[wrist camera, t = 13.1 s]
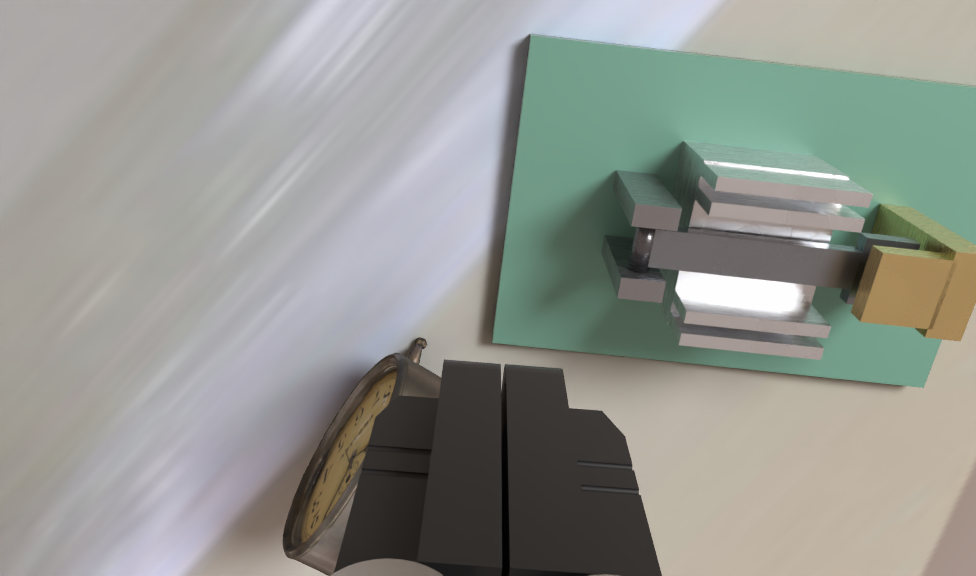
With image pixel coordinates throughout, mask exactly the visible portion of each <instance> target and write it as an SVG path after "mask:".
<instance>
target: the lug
mask: <svg viewBox="0 0 976 576" xmlns="http://www.w3.org/2000/svg"><path fill="white" fill-rule="evenodd" d="M871 234H880V235H888V236H897V237H906V238H913V239H914V240H916V241H917V242H918V243H920V244H921V245H920V248H919V250H913V249H904V248H895V247H886V246H876V245H872V248H871V251H870V254H869V257H868V260H867V263H866V266H865V269H864V273H863V276H862V279H861V282H860V285H859V288H858V291H857V294H856V297H855V300H854V303H853V306H852V309H851V313H852V314H853V315H854V316H855V317H856V318H857V319H858V320H859V321H860V322H865V323H874V324H883V325H893V326H902V327H912V328H915V329H916V330H917V331H918V332H919V333H920V334H921V335H923V336H924V337H925V338H935V339H944V340H954V341H961V339H962V336H963V334H964V331H965V329H966V326H967V323H968V321H969V318H970V316H971V313H972V311H973V308H974V306H975V303H976V245H974V244H973V243H971V242H969V241H968V240H966V239H964V238H963V237H961V236H959V235H958V234H956V233H954V232H952V231H951V230H949V229H947V228H946V227H944V226H942V225H941V224H939V223H937V222H936V221H934V220H932V219H930V218H929V217H927V216H925V215H924V214H922V213H920V212H919V211H917V210H915V209H914V208H912V207H905V206H896V205H887V204H880V206H879V209H878V212H877V215H876V218H875V221H874V224H873V227H872V230H871Z"/></svg>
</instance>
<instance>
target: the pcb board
mask: <svg viewBox="0 0 976 576" xmlns="http://www.w3.org/2000/svg"><path fill="white" fill-rule="evenodd" d="M684 141H691V142H700V143H709V144H717V145H726V146H735V147H744V148H753V149H761V150H770V151H779V152H788V153H797V154H805V155H814V156H816V157H818V158H820V159H821V160H823V161H825V162H826V163H828V164H830V165H831V166H833V167H835V168H836V169H838V170H839V171H841V172H843V173H844V174H846V175H848V176H849V179H850V180H852V181H853V182H855V183H856V184H858V185H860V186H861V187H863V188H865V189H866V190H868V191H869V192H871V193H873V196H872V199H871V202H870V206H869V208H867V207H858V206H849V205H846V206H847V207H848V208H850V209H851V210H853V211H854V212H856V213H857V214H859V215H860V216H861V217H863V218H864V219H865V221H864V225H863V228H862V231H861V232H862V233H871V230H872V227H873V224H874V221H875V218H876V215H877V212H878V209H879V206H880V204H887V205H896V206H905V207H912V208H914V209H915V210H917V211H919V212H920V213H922V214H924V215H925V216H927V217H929V218H930V219H932V220H934V221H936V222H937V223H939V224H941V225H942V226H944V227H946V228H947V229H949V230H951V231H952V232H954V233H956V234H958V235H959V236H961V237H963V238H964V239H966V240H968V241H969V242H971V243H973V244H974V245H976V86H971V85H962V84H954V83H945V82H937V81H928V80H920V79H911V78H903V77H894V76H886V75H877V74H868V73H860V72H851V71H843V70H834V69H826V68H817V67H809V66H800V65H792V64H783V63H775V62H766V61H758V60H749V59H741V58H732V57H724V56H715V55H707V54H698V53H690V52H681V51H673V50H664V49H655V48H647V47H638V46H630V45H621V44H613V43H604V42H596V41H587V40H579V39H570V38H562V37H553V36H545V35H536V34H530V41H529V48H528V56H527V64H526V72H525V80H524V88H523V96H522V104H521V112H520V120H519V128H518V136H517V144H516V152H515V160H514V168H513V176H512V183H511V191H510V199H509V207H508V215H507V223H506V231H505V239H504V247H503V255H502V263H501V271H500V279H499V287H498V295H497V303H496V311H495V318H494V326H493V334H492V343H499V344H509V345H519V346H528V347H538V348H547V349H557V350H567V351H576V352H586V353H595V354H605V355H615V356H624V357H634V358H643V359H653V360H663V361H672V362H682V363H691V364H701V365H711V366H720V367H730V368H739V369H749V370H759V371H768V372H778V373H787V374H797V375H807V376H816V377H826V378H835V379H845V380H855V381H864V382H874V383H883V384H893V385H903V386H912V387H922V388H924V385H925V382H926V380H927V377H928V375H929V372H930V369H931V367H932V364H933V361H934V359H935V356H936V354H937V351H938V348H939V346H940V343H941V341H942V339H935V338H925V337H924V336H923V335H921V334H920V333H919V332H918V331H917V330H916V329H915V328H912V327H902V326H893V325H883V324H874V323H865V322H860V321H859V320H858V319H857V318H856V317H855V316H854V315H853V314H852V313H851V309H852V306H853V305H852V304H846V303H845V302H844V301H843V300H842V299H841V298H840V293H841V290H842V289H838V288H830V287H821V286H816V289H815V292H814V296H813V299H812V302H811V305H812V306H813V307H814V308H815V309H816V310H817V311H818V312H819V313H820V315H821V316H822V317H823V318H824V319H825V320H826V321H827V322H828V323H829V324H830V325H831V329H830V332H829V335H828V338H819V337H815V338H816V339H817V340H818V341H819V343H820V344H821V345H822V346H823V347H824V351H823V354H822V357H821V360H816V359H806V358H797V357H787V356H778V355H768V354H758V353H749V352H739V351H730V350H720V349H711V348H701V347H692V346H682V345H678V343H677V340H676V338H675V336H674V334H673V332H672V330H671V328H670V326H669V324H667V322H666V320H665V318H664V316H663V314H662V311H661V309H660V307H659V305H658V303H657V302H648V301H638V300H629V299H619V298H617V296H616V293H615V290H614V287H613V284H612V282H611V279H610V276H609V273H608V270H607V268H606V265H605V262H604V259H603V256H602V254H601V252H602V246H603V241H604V235H611V236H620V237H629V238H634V233H635V228H636V227H634V226H631V225H630V223H629V221H628V219H627V217H626V215H625V213H624V211H623V209H622V207H621V205H620V203H619V201H618V199H617V197H616V195H615V193H614V191H613V185H614V179H615V174H616V170H621V171H630V172H639V173H648V174H656V175H657V176H658V178H659V179H660V180H661V182H662V183H663V184H664V186H665V187H666V188H667V190H668V191H669V192H670V194H671V195H672V194H673V189H674V184H675V180H676V175H677V170H678V165H679V161H680V156H681V151H682V146H683V142H684ZM858 236H859V232H850V231H841V230H833V233H832V236H831V239H830V243H829V244H835V245H844V246H853V247H855V246H856V243H857V240H858Z"/></svg>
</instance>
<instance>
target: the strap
mask: <svg viewBox="0 0 976 576" xmlns="http://www.w3.org/2000/svg"><path fill="white" fill-rule="evenodd" d="M872 245H876V246H886V247H895V248H904V249H913V250H919V248H920V245H921V244H920V243H918V242H917V241H916V240H914V239H913V238H906V237H897V236H888V235H880V234H871V233H862V232H861V233H859V236H858V240H857V243H856V246H855V247H853V246H844V245H835V244H826V243H818V242H809V241H800V240H791V239H782V238H774V237H765V236H756V235H747V234H738V233H729V232H721V231H712V230H703V229H694V228H685V227H678V230H677V231H670V230H661V229H652V228H643V227H636V228H635V233H634V239H633V244H632V249H631V254H630V259H629V264H628V268H629V269H631V270H633V271H636V272H649V271H650V268H651V267H652V268H660V269H669V270H678V271H687V272H696V273H705V274H714V275H723V276H732V277H741V278H749V279H758V280H767V281H776V282H785V283H794V284H803V285H812V286H821V287H830V288H838V289H842V290H841V293H840V298H841V299H842V300H843V301H844V302H845V303H846V304H852V305H853V303H854V300H855V297H856V294H857V291H858V288H859V285H860V282H861V279H862V276H863V273H864V269H865V266H866V263H867V260H868V257H869V254H870V251H871V248H872Z"/></svg>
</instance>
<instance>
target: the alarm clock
mask: <svg viewBox="0 0 976 576" xmlns="http://www.w3.org/2000/svg"><path fill="white" fill-rule="evenodd" d="M415 345H416V346H415V348H414V349H413V350H412V351H411V353H410V355H409V356H408V358H407V357H405V356H404V355H402V354H400V353H394V354H391V355H388V356H386V357H385V358H383V359H382V360H380V361H379V362H378V363H377V364H376V365H375V366H374V367H373V368H372V369H371V370H370V371H369V372H368V373H367V374H366V375H365V376H364V377H363V379H362V380H361V381H360V382H359V384H358V385H357V386H356V388H355V389H354V390H353V392H352V393H351V394H350V396H349V397H348V399H347V400H346V401H345V403H344V404H343V406H342V407H341V409H340V410H339V412H338V413H337V415H336V417H335V418H334V420H333V422H332V423H331V425H330V427H329V428H328V430H327V431H326V433H325V435H324V437H323V439H322V440H321V442H320V444H319V446H318V448H317V450H316V452H315V453H314V455H313V457H312V459H311V461H310V463H309V465H308V467H307V469H306V471H305V473H304V475H303V477H302V480H301V482H300V484H299V487H298V489H297V492H296V494H295V496H294V499H293V502H292V505H291V508H290V511H289V514H288V518H287V520H286V524H285V528H284V534H283V549H284V552H285V554H286V556H287V557H288V558H290V559H294V560H297V561H299V562H301V563H303V564H305V565H307V566H309V567H312V568H314V569H316V570H318V571H320V572H322V573H324V574H326V575H328V576H330V575H332V574H333V572H334V570H335V567H336V563H337V559H338V556H339V552H340V548H341V544H342V541H343V537H344V533H345V529H346V526H347V522H348V518H349V514H350V511H351V507H352V503H353V499H354V495H355V492H356V488H357V484H358V480H359V477H360V474H361V472H362V465H363V462H364V458H365V454H366V450H368V443H369V439H370V435H371V432H372V428H373V424H374V420H375V417H376V416H377V415H378V414H379V413H380V412H381V411H382V410H383V409H384V408H386V407H387V406H388V405H389V404H390V403H391V402H392V401H393V400H394V399H395V398H396V397H397V396H398V395H402V396H415V397H428V398H439V393H440V385H441V377H439V376H437V375H436V374H434V373H432V372H431V371H429V370H427V369H426V368H424V367H422V366H420V365H419V362H420V357H421V352H422V349H424V348H425V347H426V345H427V343H426V340H425V339H423V338H418V339H416V342H415Z"/></svg>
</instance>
